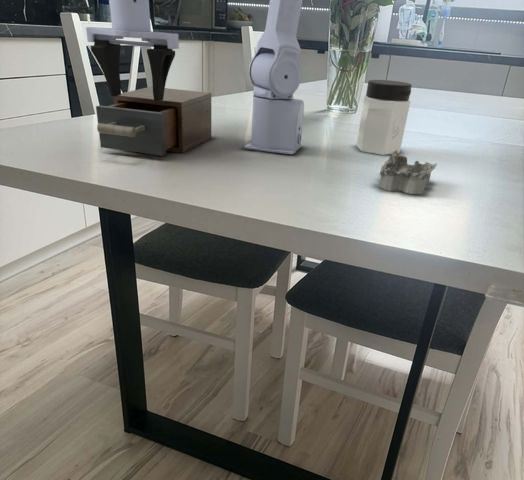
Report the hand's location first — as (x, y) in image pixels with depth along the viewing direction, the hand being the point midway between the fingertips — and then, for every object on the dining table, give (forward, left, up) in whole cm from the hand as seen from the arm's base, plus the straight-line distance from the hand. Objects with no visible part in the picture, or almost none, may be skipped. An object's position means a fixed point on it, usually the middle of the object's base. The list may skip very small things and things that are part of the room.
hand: (137, 97), depth 79 cm
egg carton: (-45, -2, -9) cm, 46 cm away
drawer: (0, -1, -8) cm, 8 cm away
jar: (-39, -26, -9) cm, 47 cm away
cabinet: (0, -11, -9) cm, 14 cm away
